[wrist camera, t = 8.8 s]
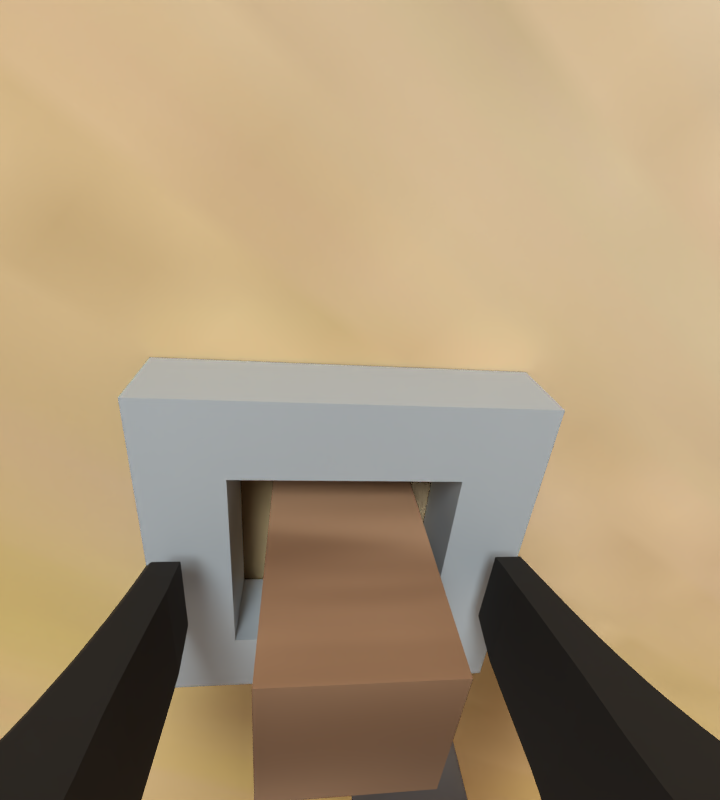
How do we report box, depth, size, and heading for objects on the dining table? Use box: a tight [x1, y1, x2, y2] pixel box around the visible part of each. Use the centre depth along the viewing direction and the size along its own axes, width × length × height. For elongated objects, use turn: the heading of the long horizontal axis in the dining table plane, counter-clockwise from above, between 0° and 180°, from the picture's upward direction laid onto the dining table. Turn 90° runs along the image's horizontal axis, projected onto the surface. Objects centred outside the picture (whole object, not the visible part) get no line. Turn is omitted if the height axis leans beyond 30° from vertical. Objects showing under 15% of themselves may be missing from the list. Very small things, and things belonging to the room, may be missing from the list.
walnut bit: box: [252, 480, 473, 800], centre depth 10 cm, size 3×3×6 cm
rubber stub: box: [352, 741, 467, 800], centre depth 15 cm, size 3×3×4 cm
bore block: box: [118, 357, 565, 687], centre depth 12 cm, size 9×9×2 cm
